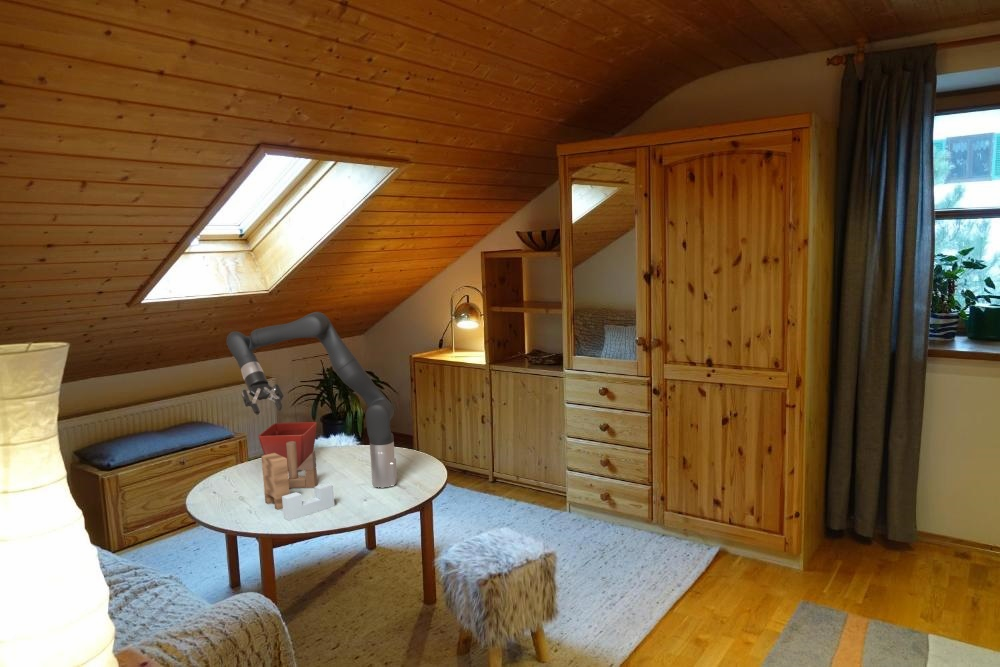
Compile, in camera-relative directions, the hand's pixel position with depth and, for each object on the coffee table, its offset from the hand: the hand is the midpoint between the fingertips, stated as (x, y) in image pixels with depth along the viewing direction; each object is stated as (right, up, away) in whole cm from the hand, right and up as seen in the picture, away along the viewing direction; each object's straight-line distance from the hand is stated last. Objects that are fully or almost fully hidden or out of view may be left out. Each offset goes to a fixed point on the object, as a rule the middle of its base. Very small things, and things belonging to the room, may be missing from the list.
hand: (269, 411), depth 265 cm
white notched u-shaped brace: (+18, -35, -10) cm, 40 cm away
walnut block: (+4, -34, -2) cm, 34 cm away
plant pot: (-4, -28, +40) cm, 49 cm away
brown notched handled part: (+8, -31, +16) cm, 36 cm away
